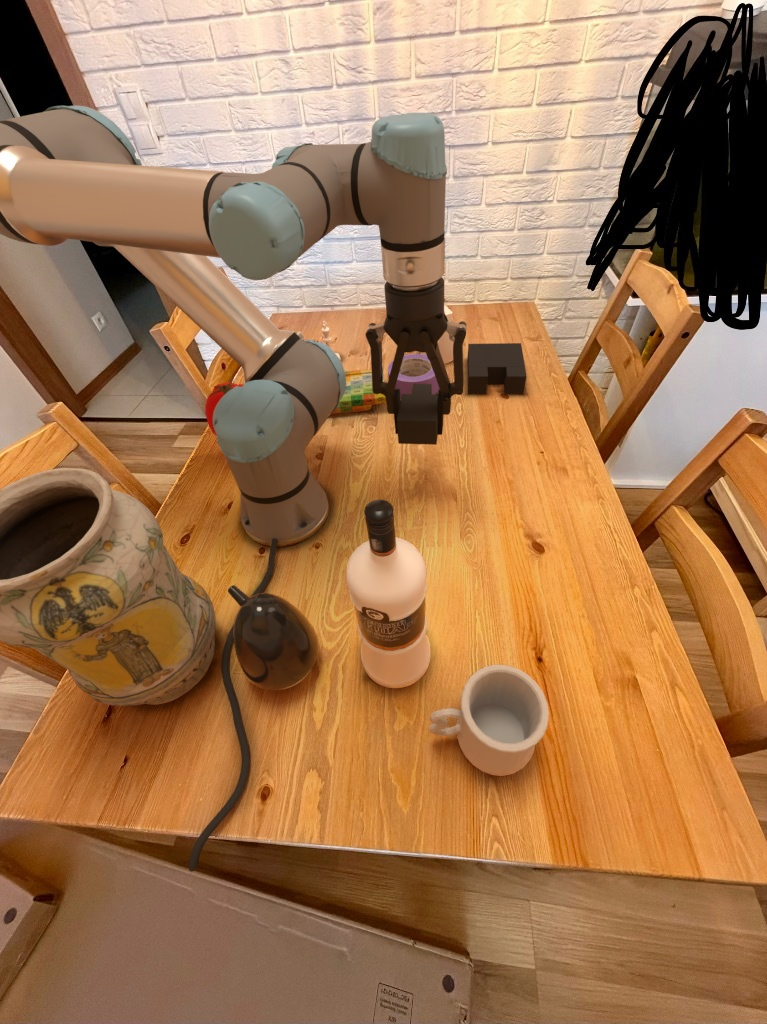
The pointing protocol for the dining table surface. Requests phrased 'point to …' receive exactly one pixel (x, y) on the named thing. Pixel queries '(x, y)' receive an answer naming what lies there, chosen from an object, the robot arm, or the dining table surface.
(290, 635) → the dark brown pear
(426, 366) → the tape roll
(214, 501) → the dining table surface
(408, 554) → the vodka
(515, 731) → the mug
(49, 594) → the vase
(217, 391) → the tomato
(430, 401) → the pad
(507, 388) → the notch pad
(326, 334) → the chess piece
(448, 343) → the cylinder with rectangular tab
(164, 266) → the robot arm
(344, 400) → the puzzle game
